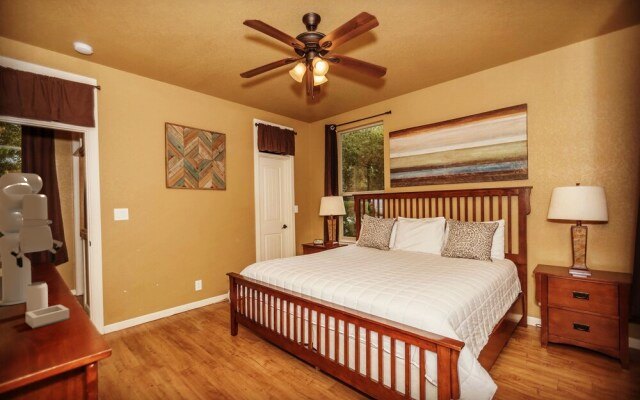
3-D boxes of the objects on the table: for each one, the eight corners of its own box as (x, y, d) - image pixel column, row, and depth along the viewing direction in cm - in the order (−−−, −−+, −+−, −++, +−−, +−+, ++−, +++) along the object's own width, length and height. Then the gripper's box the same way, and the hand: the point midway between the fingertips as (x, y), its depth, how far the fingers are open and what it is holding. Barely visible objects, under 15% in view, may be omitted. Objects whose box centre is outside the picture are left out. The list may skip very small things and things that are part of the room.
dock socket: (25, 322, 115) (25, 312, 115) (60, 313, 123) (60, 304, 123) (33, 328, 109) (33, 318, 109) (69, 318, 118) (69, 309, 118)
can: (34, 315, 122) (34, 285, 122) (22, 314, 123) (21, 285, 123) (52, 309, 128) (51, 281, 128) (40, 309, 130) (39, 281, 130)
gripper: (59, 222, 135) (60, 260, 135) (3, 225, 121) (4, 268, 121) (64, 222, 131) (65, 262, 131) (8, 225, 116) (9, 270, 116)
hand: (36, 264), depth 126 cm, fingers open, 9 cm apart
